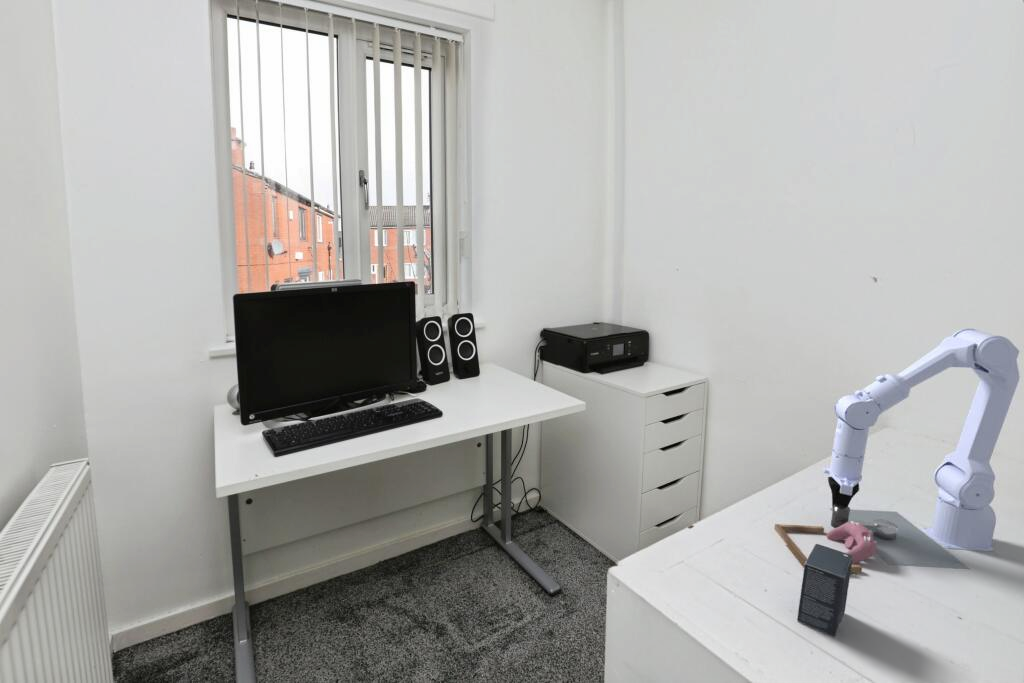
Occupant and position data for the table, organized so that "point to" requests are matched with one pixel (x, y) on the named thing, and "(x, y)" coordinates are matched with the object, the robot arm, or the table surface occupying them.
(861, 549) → the video game controller
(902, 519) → the plate
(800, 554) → the bay
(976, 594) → the table surface
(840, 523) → the crank
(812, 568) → the box
